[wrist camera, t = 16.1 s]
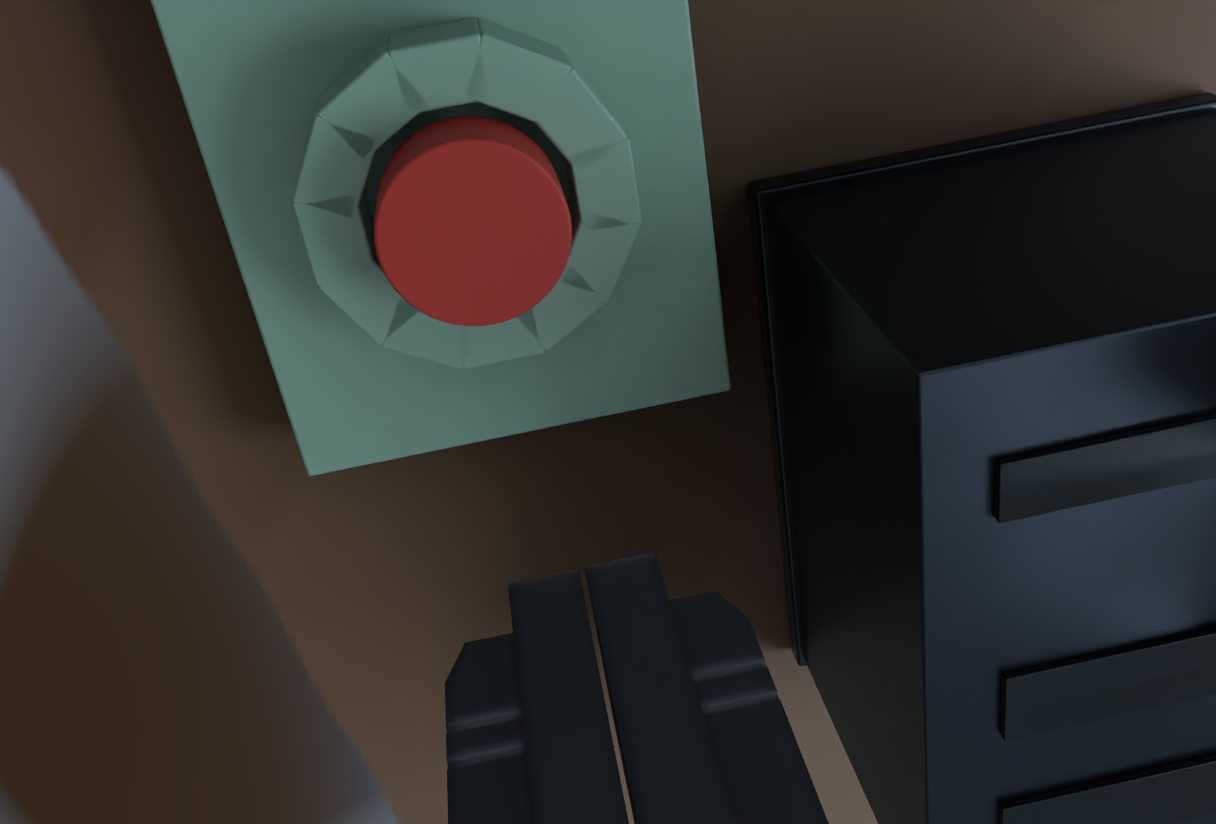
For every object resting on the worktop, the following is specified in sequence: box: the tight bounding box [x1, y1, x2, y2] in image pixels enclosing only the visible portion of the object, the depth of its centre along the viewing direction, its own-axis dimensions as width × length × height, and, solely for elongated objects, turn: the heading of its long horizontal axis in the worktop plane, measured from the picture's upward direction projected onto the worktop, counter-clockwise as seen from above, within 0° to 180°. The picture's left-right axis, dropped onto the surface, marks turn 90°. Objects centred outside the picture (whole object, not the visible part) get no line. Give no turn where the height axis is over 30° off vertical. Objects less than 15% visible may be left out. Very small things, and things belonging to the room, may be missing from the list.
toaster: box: [748, 93, 1216, 824], centre depth 26 cm, size 14×11×10 cm
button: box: [374, 116, 572, 326], centre depth 22 cm, size 4×4×2 cm
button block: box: [150, 0, 731, 476], centre depth 24 cm, size 12×10×4 cm
